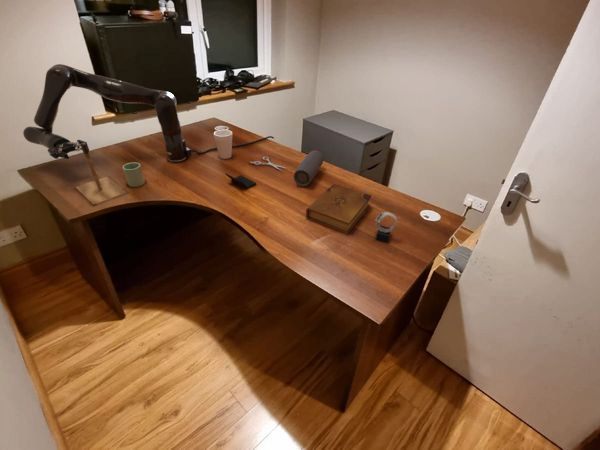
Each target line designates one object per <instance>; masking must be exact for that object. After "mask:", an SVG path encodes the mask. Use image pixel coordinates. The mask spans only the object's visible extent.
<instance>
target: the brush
mask: <svg viewBox="0 0 600 450" xmlns="http://www.w3.org/2000/svg"><path fill="white" fill-rule="evenodd" d="M80 148H82V150H81V152H82V153H83V155H84V157H85V160H86V162H87V164H88V166H89V169H90V171H91V174H92V177H93V179H94V181H95V182H96V184H97V187H98V189H99V190H102V187H101V184H100V181H99V179H100V178H99V176H98V174H97V171H96V169H95V166H94V164H93V161H92V158H91V155H90V151H89V152H88V149H87V146H86V144H85V143H81V144H80Z"/></svg>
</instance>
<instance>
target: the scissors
mask: <svg viewBox="0 0 600 450" xmlns="http://www.w3.org/2000/svg"><path fill="white" fill-rule="evenodd" d="M262 160H263V161H265V162H261V161H259V160H256V161H249V164H254V165H255V166H260V165H262V166H265V165H266V166H271V167H273V168H275V169H277V170H279V171H280V172H283V170H282V169H281V168H283V169H286V167H284V166H281V165H278V164H274V163H273V162H271V161H270V158H269V156H262Z"/></svg>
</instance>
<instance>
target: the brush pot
mask: <svg viewBox="0 0 600 450" xmlns="http://www.w3.org/2000/svg"><path fill="white" fill-rule="evenodd" d="M122 171H123V174H124V177H125V180H126V183H127V186H128V187H133V188H134V187H141V186H142V185H144V184H145V183H146V179H145V176H144V172H143V169H142V165H141V163H139V162H136V161H134V162H133V161H132V162H127V163H125V164H124V165H122Z"/></svg>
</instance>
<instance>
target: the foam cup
mask: <svg viewBox="0 0 600 450" xmlns="http://www.w3.org/2000/svg"><path fill="white" fill-rule="evenodd" d="M233 135H234V134H233V131H232V130H229V129H218V130H215V131H214V132H213V139H214V141H215V146H216V148H217V149H216V150H217V152H218V156H219V158H220V159H223V160H226V159H230V158H232V156H233V155H232V153H233V147H232V146H233V137H234V136H233Z"/></svg>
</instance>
